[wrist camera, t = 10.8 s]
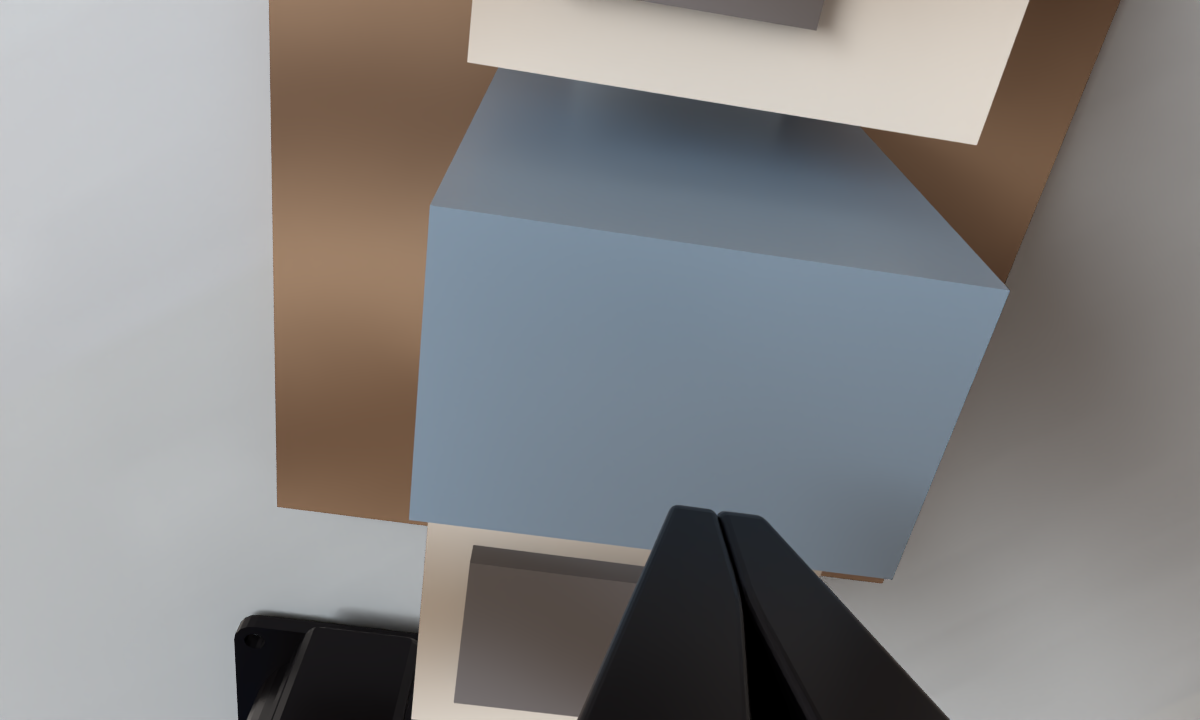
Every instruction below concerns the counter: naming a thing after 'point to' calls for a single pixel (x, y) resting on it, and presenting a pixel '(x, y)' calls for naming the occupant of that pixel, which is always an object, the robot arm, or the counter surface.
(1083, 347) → the counter surface
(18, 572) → the counter surface
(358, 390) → the wooden block holder
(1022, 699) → the counter surface
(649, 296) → the block
